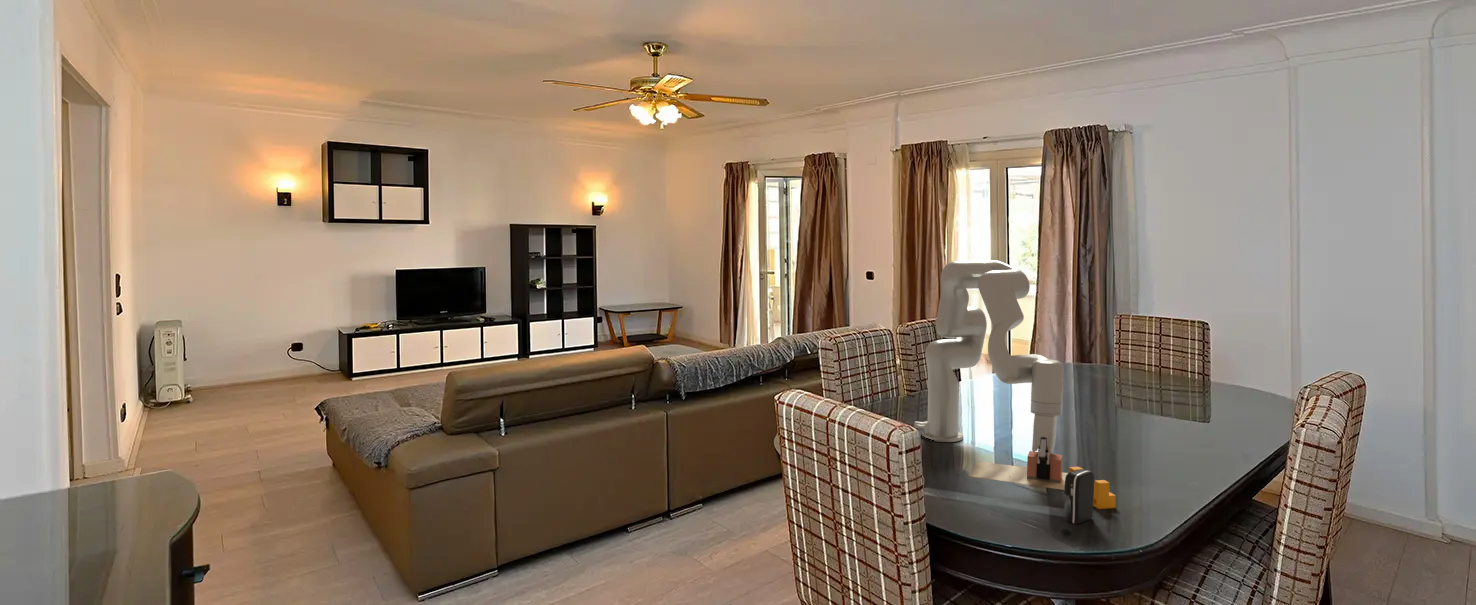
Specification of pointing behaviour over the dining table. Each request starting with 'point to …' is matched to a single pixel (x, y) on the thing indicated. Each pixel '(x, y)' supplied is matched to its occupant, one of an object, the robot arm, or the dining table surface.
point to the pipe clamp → (1101, 493)
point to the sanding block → (1055, 467)
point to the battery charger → (1080, 495)
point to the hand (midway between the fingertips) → (1044, 474)
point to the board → (1011, 475)
